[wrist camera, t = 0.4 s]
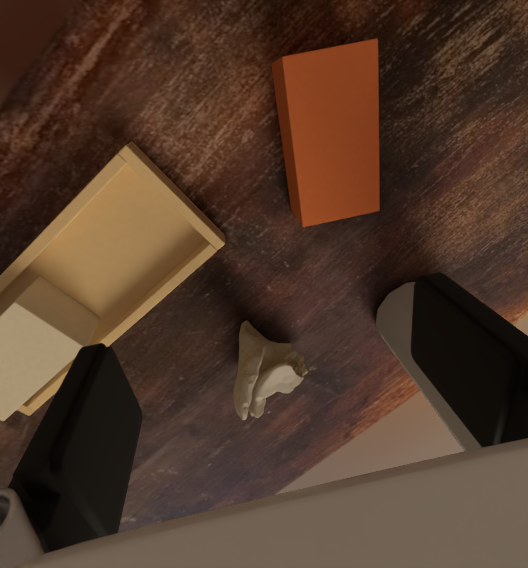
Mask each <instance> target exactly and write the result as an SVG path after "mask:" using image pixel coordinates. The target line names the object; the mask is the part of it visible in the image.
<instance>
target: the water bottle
mask: <svg viewBox="0 0 528 568" xmlns="http://www.w3.org/2000/svg"><path fill="white" fill-rule="evenodd" d="M415 283H416V282H410V283H405V284H403V285H402V286H400V287H399V288H397V289H395V290H394V291H392V292H390V293H389V294H388V295H387V296H386V298H385V299H384V301H383V302H382V304H381V305H380V306H379V308H378V310H377V318H376V328H377V330H378V331H379V333H380V335H381V336H382V338H383V340H384V341H385V342H386V344H387V345H388V346H389V348H390V349H391V351H392V352H393V353H394V355H395V356H396V357H397V359H398V360H399V362H400V363H401V364H402V366H403V367H404V369H405V370H406V371H407V373H408V374H409V375H410V377H411V378H412V380H413V381H414V382H415V384H416V385H417V387H418V388H419V389H420V391H421V392H422V393H423V395H424V396H425V397H426V399H427V400H428V402H429V403H430V404H431V406H432V407H433V408H434V410H435V411H436V413H437V414H438V416H439V417H440V418H441V420H442V421H443V422H444V424H445V425H446V427H447V428H448V429H449V431H450V432H451V433H452V435H453V436H454V437H455V439H456V440H457V442H458V443H459V444H460V446H461V447H462V449H463V450H464V451H469V450H474V449H478V448H482V447H481V446H480V445H479V443H478V442H477V441H476V439H475V438H474V437H473V436H472V434H471V433H470V432H469V430H468V429H467V428H466V427H465V425H464V424H463V423H462V422H461V420H460V419H459V418H458V416H457V415H456V414H455V413H454V411H453V410H452V409H451V407H450V406H449V405H448V404H447V402H446V401H445V400H444V399H443V397H442V396H441V395H440V393H439V392H438V391H437V390H436V388H435V387H434V386H433V384H432V383H431V382H430V381H429V379H428V378H427V377H426V376H425V374H424V373H423V372H422V370H421V369H420V368H419V367H418V365H417V364H416V363H415V361H414V360H413V358H412V355H411V332H412V313H413V295H414V284H415Z"/></svg>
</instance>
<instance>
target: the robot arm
mask: <svg viewBox="0 0 528 568" xmlns="http://www.w3.org/2000/svg"><path fill="white" fill-rule="evenodd" d="M411 355H412V358H413V360H414V361H415V363H416V364H417V365H418V367H419V368H420V369H421V370H422V372H423V373H424V374H425V376H426V377H427V378H428V379H429V381H430V382H431V383H432V384H433V386H434V387H435V388H436V390H437V391H438V392H439V393H440V395H441V396H442V397H443V399H444V400H445V401H446V402H447V404H448V405H449V406H450V407H451V409H452V410H453V411H454V413H455V414H456V415H457V416H458V418H459V419H460V420H461V422H462V423H463V424H464V425H465V427H466V428H467V429H468V430H469V432H470V433H471V434H472V436H473V437H474V438H475V439H476V441H477V442H478V443H479V445H480V446H481V447H482V448H478V449H474V450H469V451H465V452H460V453H456V454H452V455H448V456H443V457H438V458H434V459H430V460H425V461H421V462H417V463H412V464H407V465H403V466H399V467H394V468H390V469H385V470H381V471H376V472H372V473H368V474H364V475H360V476H355V477H351V478H346V479H342V480H338V481H334V482H329V483H325V484H321V485H316V486H312V487H308V488H303V489H299V490H295V491H291V492H286V493H282V494H278V495H273V496H269V497H265V498H260V499H256V500H252V501H248V502H243V503H239V504H235V505H231V506H227V507H223V508H218V509H214V510H210V511H206V512H202V513H197V514H193V515H189V516H185V517H181V518H176V519H172V520H168V521H164V522H160V523H155V524H151V525H147V526H143V527H140V528H136V529H132V530H128V531H124V532H120V533H118V529H119V525H120V520H121V516H122V511H123V506H124V502H125V497H126V493H127V488H128V483H129V479H130V474H131V470H132V465H133V460H134V456H135V451H136V447H137V442H138V437H139V433H140V428H141V424H142V411H141V408H140V406H139V404H138V402H137V399H136V397H135V395H134V393H133V391H132V389H131V387H130V385H129V382H128V380H127V378H126V376H125V374H124V372H123V370H122V367H121V365H120V363H119V361H118V359H117V357H116V355H115V353H114V350H113V349H112V347H110V346H108V347H106V345H104V344H103V343H99V344H94V345H89V346H85V347H82V348H81V349H80V350H79V352H78V354H77V355H76V357H75V359H74V361H73V363H72V365H71V367H70V369H69V370H68V372H67V374H66V376H65V378H64V380H63V382H62V384H61V386H60V387H59V389H58V391H57V393H56V395H55V397H54V399H53V401H52V402H51V404H50V406H49V408H48V410H47V412H46V414H45V416H44V417H43V419H42V421H41V423H40V425H39V427H38V429H37V431H36V432H35V434H34V436H33V438H32V440H31V442H30V444H29V446H28V448H27V449H26V451H25V453H24V455H23V457H22V459H21V461H20V463H19V464H18V466H17V468H16V470H15V472H14V474H13V476H14V477H13V479H12V481H11V483H10V485H9V487H8V488H0V568H528V336H527V335H526V334H524V333H523V332H522V331H520V330H518V329H517V328H516V327H515V326H513V325H512V324H511V323H509V322H508V321H507V320H505V319H504V318H503V317H501V316H500V315H499V314H497V313H496V312H494V311H493V310H492V309H490V308H489V307H488V306H486V305H485V304H484V303H482V302H481V301H480V300H478V299H477V298H476V297H474V296H473V295H471V294H470V293H469V292H467V291H466V290H465V289H463V288H462V287H461V286H459V285H458V284H457V283H455V282H454V281H453V280H451V279H450V278H449V277H447V276H446V275H444V274H443V273H441V272H438V273H434V274H429V275H424V276H421V277H420V278H419V281H418V282H416V283H415V284H414V295H413V313H412V332H411Z"/></svg>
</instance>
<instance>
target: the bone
mask: <svg viewBox="0 0 528 568" xmlns="http://www.w3.org/2000/svg"><path fill="white" fill-rule="evenodd" d="M303 361H304V356H303V355H302V354H301V353H299V352H296V351H295V350H294V349H292V348H291V344H288V343H275V342H271V341H269V340H267V339H266V338H264V337H263V336H262V335H261V334H260V333H259V332H258V331H257V330H256V329H255V328H254V327H253V326H252V325H251V324H250V323H249V322H248V321H245V322H243V323H242V324H241V329H240V333H239V362H238V374H237V378H236V381H235V385H234V390H233V392H234V400H235V408H236V411H237V413H238V415H239V416H240V417H241V419H243V420H245V419H246V418H247V414H248V410H249V412H250V415H251V416H255V417H257V418H259V417H260V416H261V415H262V414H263V412H264V406H265V403H266V397H268V396H270V395H272V394H274V393H275V392H277V391H278V392H282V393H290V392H291V391H292V390H293V389H294V387H296V386H297V385H299V384H300V383H301V381H302V380H303V379H304V377H303V375H304V374H306V373H307V369H306V366H305V364H304V362H303Z"/></svg>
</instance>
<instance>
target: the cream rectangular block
mask: <svg viewBox="0 0 528 568" xmlns="http://www.w3.org/2000/svg"><path fill="white" fill-rule="evenodd" d="M99 321H100V317H98V316H97V315H95V314H94V313H93V312H91V311H90V310H88V309H87V308H85V307H84V306H83V305H81V304H80V303H78V302H77V301H76V300H74V299H73V298H71V297H70V296H68V295H67V294H66V293H64V292H63V291H61V290H60V289H58V288H57V287H56V286H54V285H53V284H51V283H50V282H49V281H47V280H46V279H44V278H43V277H41V276H39V277H38V278H37V279H36V280H35V281H34V282H33V283H32V284H31V285H30V286H29V287H28V288H27V289H26V290H25V291H24V292H23V293H22V294H21V295H20V296H19V297H18V298H17V299H16V300H15V301H14V302H13V303H12V304H11V305H10V306H9V307H8V308H7V309H6V310H5V311H4V312H3V313H2V314H1V315H0V420H2V421H5V420H6V419H7V418H8V417H9V416H10V415H11V414H12V413H13V412H15V411H16V410H17V409H18V408H19V407H20V406H21V405H22V404H24V403H25V402H26V401H27V400H28V399H29V398H30V397H31V396H32V395H34V394H35V393H36V392H37V391H38V390H39V389H40V388H41V387H43V386H44V385H45V384H46V383H47V382H48V381H49V380H50V379H51V378H53V377H54V376H55V375H56V374H57V373H58V372H59V371H60V370H62V369H63V368H64V367H65V366H66V365H67V364H68V363H69V362H70V361H72V360H73V359H74V358H75V357H76V355H77V354H78V352H79V350H80V349H81V348H82V347H85V346H87V344H88V342H89V340H90V338H91V336H92V334H93V332H94V330H95V328H96V327H97V325H98V323H99Z"/></svg>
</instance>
